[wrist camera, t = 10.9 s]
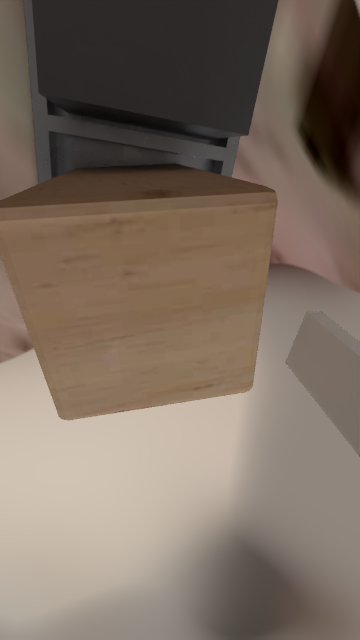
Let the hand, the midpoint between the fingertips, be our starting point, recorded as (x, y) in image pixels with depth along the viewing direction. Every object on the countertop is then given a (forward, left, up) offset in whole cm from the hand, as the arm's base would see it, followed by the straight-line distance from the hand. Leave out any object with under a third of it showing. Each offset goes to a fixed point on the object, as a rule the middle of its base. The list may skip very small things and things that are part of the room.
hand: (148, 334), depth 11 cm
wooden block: (0, 0, -21) cm, 21 cm away
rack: (0, +4, -22) cm, 22 cm away
